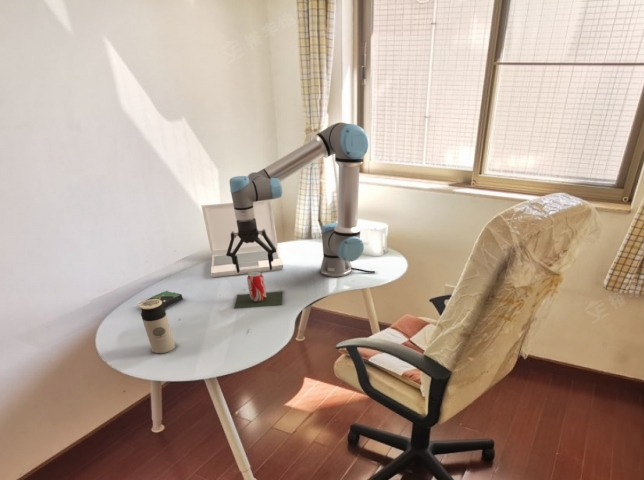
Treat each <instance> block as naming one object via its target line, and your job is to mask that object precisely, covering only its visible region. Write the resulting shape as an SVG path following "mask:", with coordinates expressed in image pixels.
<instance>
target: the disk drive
mask: <svg viewBox="0 0 644 480" xmlns="http://www.w3.org/2000/svg"><path fill="white" fill-rule="evenodd" d="M150 299H159V300H161V301H162V307H163V308H164V309H165V310H166V309H167V308H169V307H171V306H173V305H175V304H178V303H179V302H181V301H182V300H184V298H183V294H181V293H177V292H175V291H174V292H173V291H168V290H165V291H162V292H160V293H158V294H156V295H153V296H151V297H149V298H146V299H145V300H144V301H146V300H150ZM142 302H143V301H140V302H139V304H140V303H142ZM139 304H138V305H139Z"/></svg>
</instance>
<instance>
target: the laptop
mask: <svg viewBox="0 0 644 480" xmlns="http://www.w3.org/2000/svg"><path fill="white" fill-rule="evenodd" d="M273 205H274V204H273V199H270V200H263V201H257V202H253V207H254V213H255V219H256V225H257V230H258V231H261V230H263V229H265V231H266V234H267V236H268V237H269V239H270V240H271V242H272V243H273V245H274V246H275V248H276V252H275V253H273V261H272V262H271V264H272V270H270V267H269V261H268V252H267V251H266V250H265V249H263V248H262V247H261V246H260V245H259V244H258V243H256V242H254V243H250V242H249V243H245V242H243V244H242V245H241V247H240V248H239V250H238V251H237V253H236V254H235V255H237V259H238V264H239V269H240V271H239V273H237V269H236V265H233V262H232V258H231V257H230V256H227V255H226V254H227V251H228V247H229V244H230V241H231V232H235V233H238V227H237V222H236V221H237V219H236V216H235V211H234V205H233V202H224V203H215V204H214V203H213V204H203V205H201V210H202V214H203V220H204V225H205V230H206V233H207V238H208V244H209V248H210V249H209V250H210V253H211V267H210V268H211V269H210V275H211V277H213V278H221V277H231V276H239V275H248V273H249V272H252V271H260V272H261V273H263V272H273V271H281V270H283V269H284V262H283V261H282V257H281V254H280V251H279V246H278V245H279V244H278V238H277V237H278V236H277V229H276V222H275V213H274V206H273ZM258 238H260V240H261V241H262V242H263V243H265V244H266V245H267V246H268V247H269V248H270V246H269V245H268V243H267V242H266V240H265V239H264V237H263V236H261V234H259V235H258ZM240 240H241V239H240V238H239V237H238V236H236V238H234V242H233V245H232V249H231V253H232V252H233V251H234V249H235V248H236V246H237V245H238V243H239V241H240ZM270 249H271V248H270ZM271 250H272V249H271Z"/></svg>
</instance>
